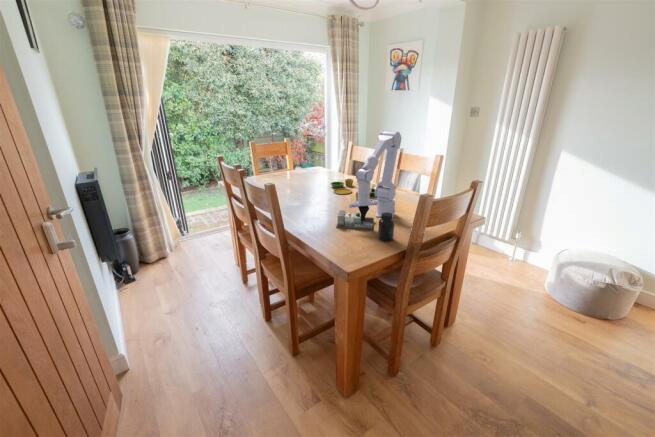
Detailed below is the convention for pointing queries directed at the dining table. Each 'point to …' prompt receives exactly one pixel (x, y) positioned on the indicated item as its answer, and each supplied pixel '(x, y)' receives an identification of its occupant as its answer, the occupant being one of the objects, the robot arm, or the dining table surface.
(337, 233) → the dining table surface
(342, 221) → the press
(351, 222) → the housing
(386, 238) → the supplement bottle
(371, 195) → the tableware set
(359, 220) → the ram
